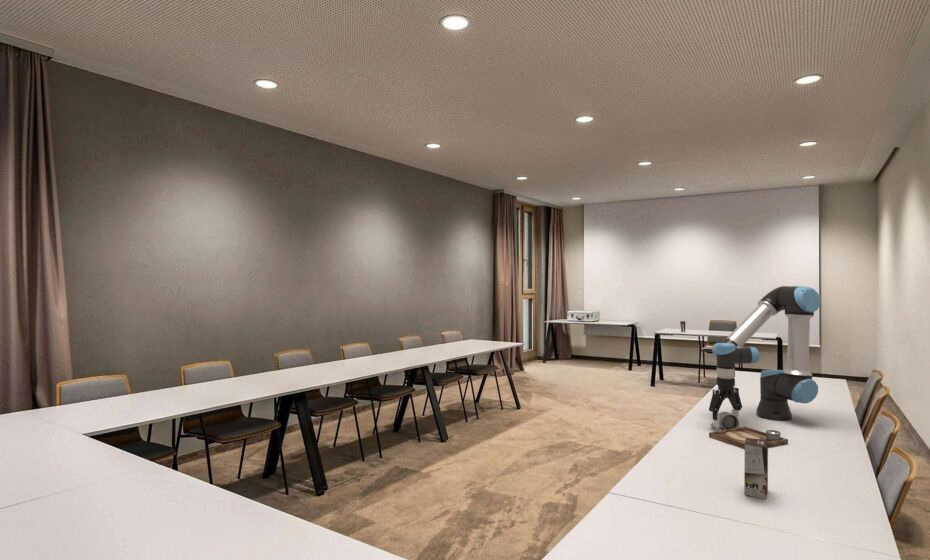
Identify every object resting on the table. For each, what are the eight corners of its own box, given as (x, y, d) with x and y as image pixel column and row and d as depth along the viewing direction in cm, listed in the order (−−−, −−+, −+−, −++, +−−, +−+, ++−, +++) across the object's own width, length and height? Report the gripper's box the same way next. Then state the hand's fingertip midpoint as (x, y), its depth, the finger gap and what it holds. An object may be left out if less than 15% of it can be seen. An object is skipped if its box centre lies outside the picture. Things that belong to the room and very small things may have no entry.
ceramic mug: (732, 426, 242) (731, 409, 242) (739, 431, 234) (739, 414, 234) (708, 426, 244) (707, 409, 244) (714, 431, 235) (714, 414, 235)
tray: (745, 431, 235) (745, 426, 235) (788, 444, 216) (787, 439, 216) (709, 437, 226) (709, 432, 226) (750, 451, 208) (750, 446, 208)
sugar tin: (771, 440, 222) (771, 429, 222) (783, 443, 217) (783, 432, 217) (763, 441, 219) (763, 430, 219) (774, 445, 215) (774, 434, 215)
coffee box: (767, 499, 162) (767, 447, 162) (743, 495, 166) (743, 444, 166) (768, 489, 170) (768, 439, 170) (746, 485, 173) (745, 436, 173)
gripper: (736, 374, 246) (736, 420, 246) (699, 377, 237) (699, 426, 237) (751, 376, 239) (751, 424, 240) (713, 380, 230) (713, 430, 230)
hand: (725, 425), depth 238 cm, fingers closed on ceramic mug, 11 cm apart
